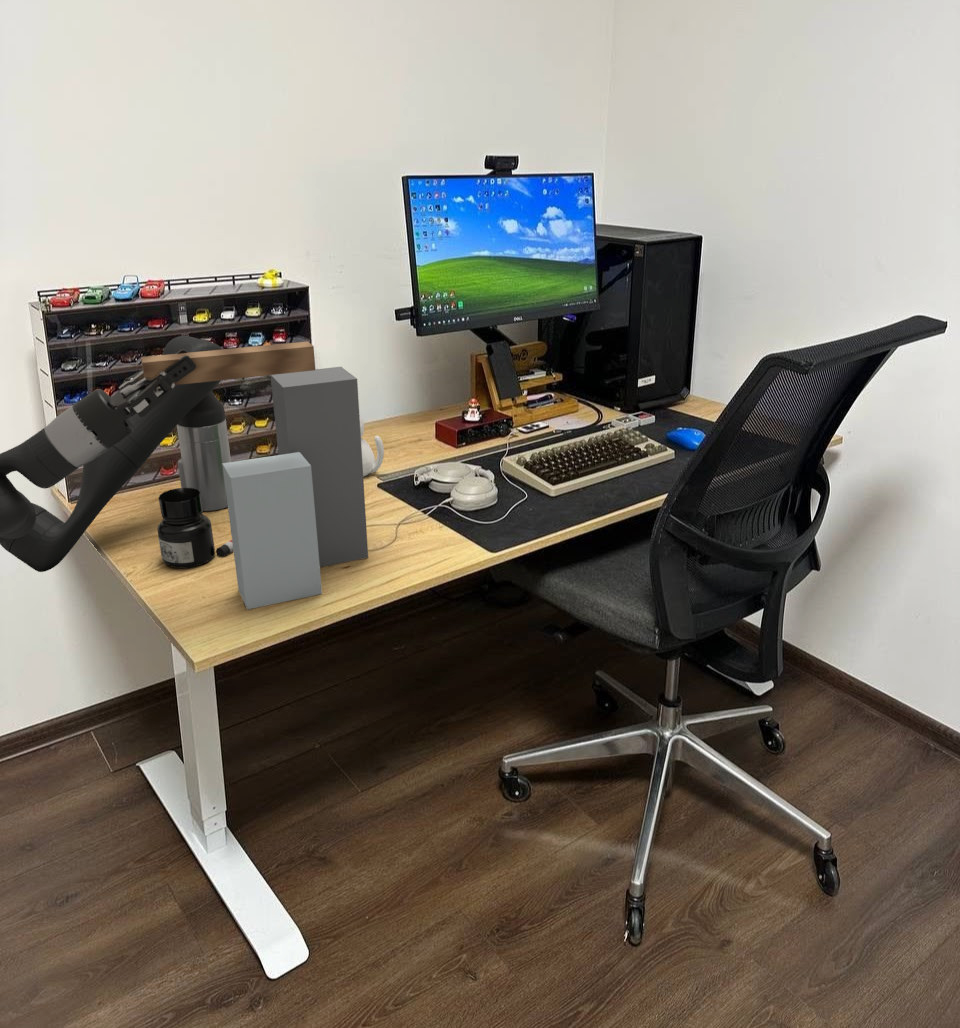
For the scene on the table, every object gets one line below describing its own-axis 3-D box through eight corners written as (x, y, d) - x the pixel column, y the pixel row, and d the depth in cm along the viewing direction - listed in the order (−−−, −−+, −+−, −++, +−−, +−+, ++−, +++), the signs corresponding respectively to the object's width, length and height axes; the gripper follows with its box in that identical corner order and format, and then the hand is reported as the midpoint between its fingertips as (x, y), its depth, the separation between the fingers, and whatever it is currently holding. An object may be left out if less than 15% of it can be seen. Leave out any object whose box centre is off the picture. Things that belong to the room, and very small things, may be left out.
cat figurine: (337, 465, 199) (331, 400, 193) (391, 467, 197) (387, 402, 191) (324, 479, 191) (317, 412, 185) (380, 482, 189) (375, 414, 183)
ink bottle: (151, 559, 156) (140, 495, 151) (195, 542, 162) (186, 481, 157) (182, 575, 150) (172, 509, 145) (226, 557, 156) (218, 494, 151)
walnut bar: (146, 388, 124) (142, 362, 123) (144, 381, 127) (140, 357, 126) (315, 370, 133) (313, 346, 131) (309, 364, 136) (308, 341, 134)
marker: (225, 559, 156) (224, 548, 155) (216, 556, 157) (215, 546, 156) (278, 526, 169) (277, 517, 168) (270, 524, 170) (269, 515, 169)
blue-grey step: (247, 609, 139) (230, 478, 130) (238, 590, 145) (222, 463, 136) (322, 593, 143) (311, 465, 135) (310, 575, 149) (299, 452, 141)
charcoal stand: (300, 570, 151) (283, 387, 138) (288, 550, 158) (270, 374, 146) (368, 557, 156) (357, 378, 143) (352, 538, 163) (341, 366, 150)
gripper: (105, 434, 133) (200, 367, 135) (109, 464, 121) (214, 390, 123) (69, 395, 129) (168, 326, 131) (70, 422, 117) (179, 346, 119)
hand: (189, 357), depth 127 cm, fingers closed on walnut bar, 3 cm apart
